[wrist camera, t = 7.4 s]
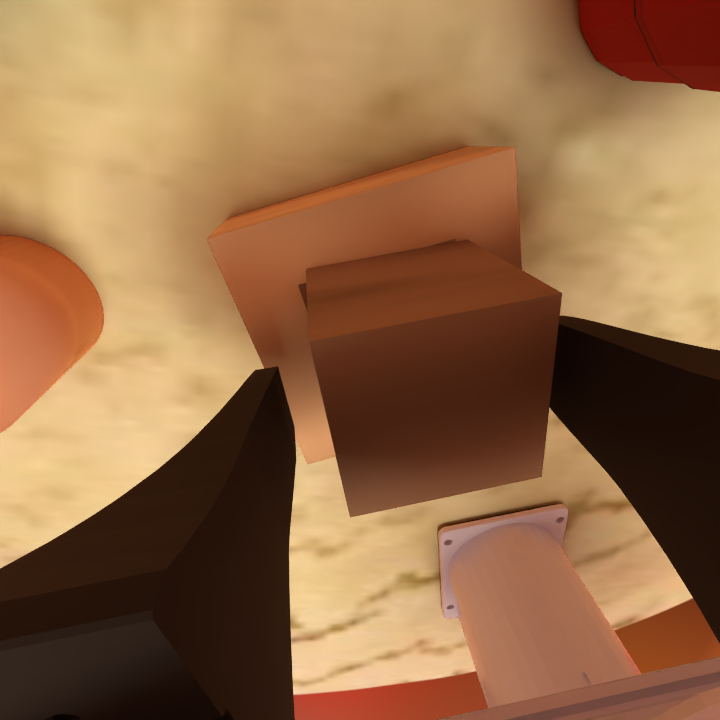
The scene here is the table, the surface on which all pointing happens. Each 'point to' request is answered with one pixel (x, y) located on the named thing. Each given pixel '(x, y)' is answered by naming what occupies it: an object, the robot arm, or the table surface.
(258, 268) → the oak block
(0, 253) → the terracotta cylinder
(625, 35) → the plastic cup
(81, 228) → the table surface
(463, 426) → the walnut cube
